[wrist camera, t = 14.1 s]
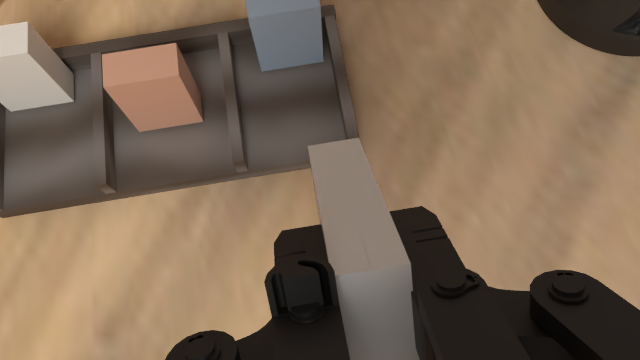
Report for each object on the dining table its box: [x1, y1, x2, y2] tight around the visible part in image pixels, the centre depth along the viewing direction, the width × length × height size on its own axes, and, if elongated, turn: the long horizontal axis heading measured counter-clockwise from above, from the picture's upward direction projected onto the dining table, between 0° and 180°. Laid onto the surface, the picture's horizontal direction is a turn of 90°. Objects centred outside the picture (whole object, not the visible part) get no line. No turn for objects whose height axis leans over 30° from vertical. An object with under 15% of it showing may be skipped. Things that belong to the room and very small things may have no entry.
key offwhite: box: [0, 22, 74, 112], centre depth 43 cm, size 2×5×7 cm, turn 99°
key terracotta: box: [102, 43, 204, 132], centre depth 42 cm, size 2×5×7 cm, turn 99°
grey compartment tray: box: [0, 5, 359, 218], centre depth 45 cm, size 12×28×4 cm, turn 99°
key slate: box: [245, 0, 324, 72], centre depth 43 cm, size 2×5×7 cm, turn 99°
